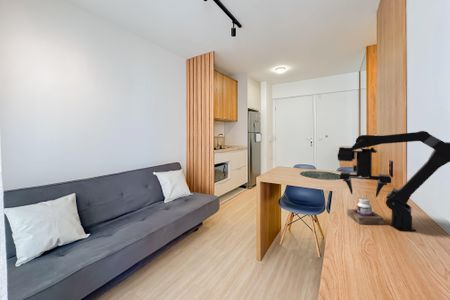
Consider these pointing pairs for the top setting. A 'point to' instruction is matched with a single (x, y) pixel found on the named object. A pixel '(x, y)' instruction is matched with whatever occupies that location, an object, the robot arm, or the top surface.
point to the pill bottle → (364, 207)
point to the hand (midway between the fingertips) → (363, 195)
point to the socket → (365, 217)
